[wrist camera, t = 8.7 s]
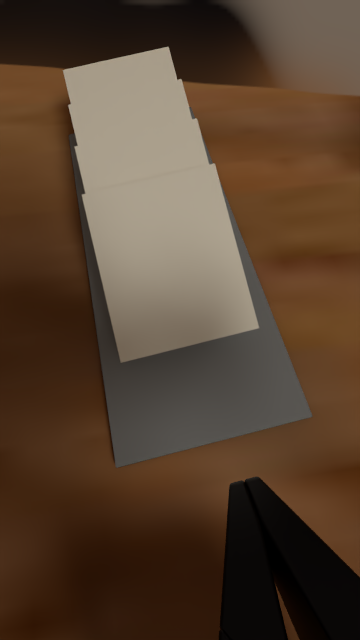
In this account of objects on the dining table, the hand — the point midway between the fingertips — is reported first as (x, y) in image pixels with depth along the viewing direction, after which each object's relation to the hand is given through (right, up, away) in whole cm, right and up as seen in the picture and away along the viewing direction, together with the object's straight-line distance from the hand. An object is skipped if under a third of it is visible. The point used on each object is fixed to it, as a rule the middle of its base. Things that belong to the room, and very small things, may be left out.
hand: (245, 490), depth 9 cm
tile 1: (-1, +3, +13) cm, 14 cm away
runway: (-3, +11, +18) cm, 21 cm away
